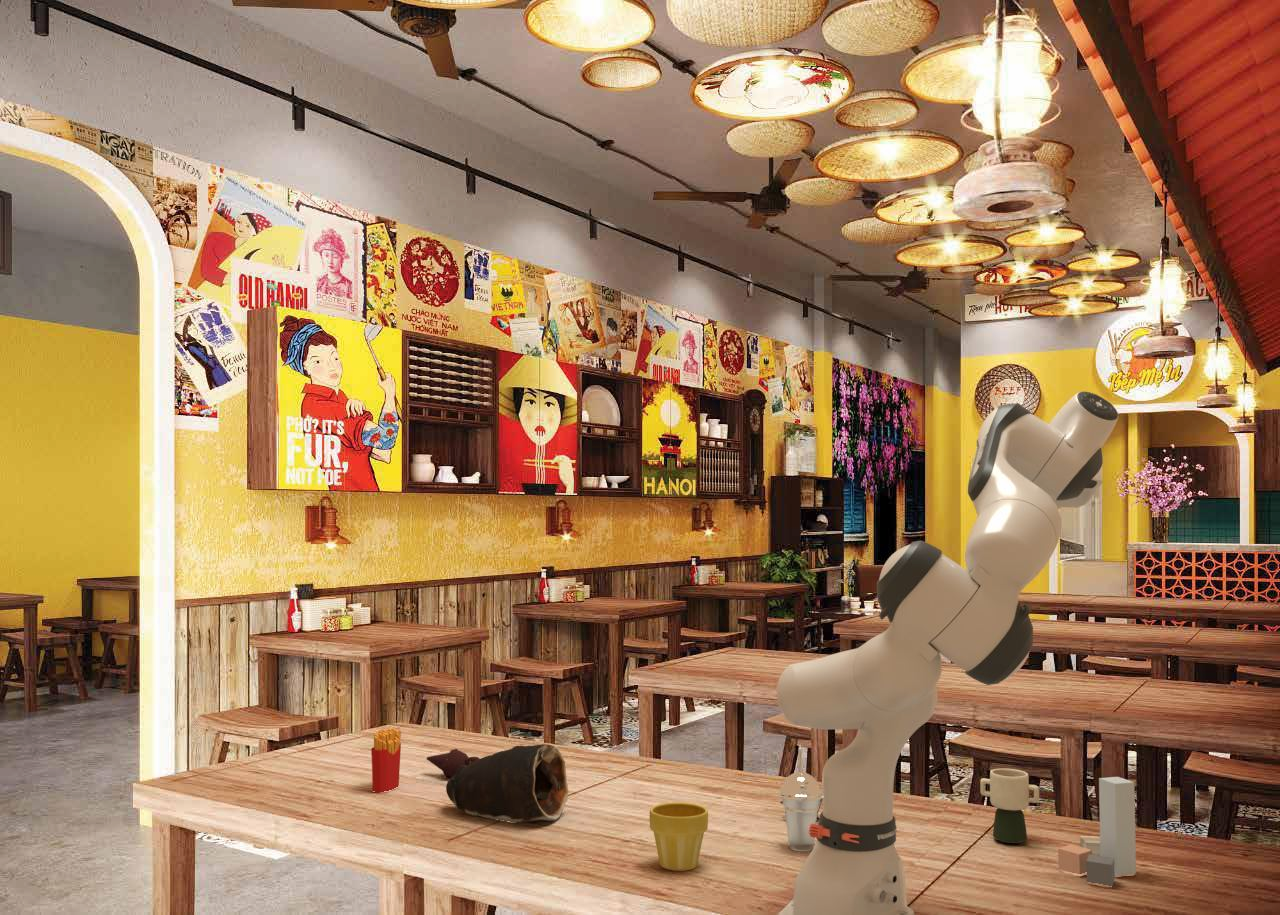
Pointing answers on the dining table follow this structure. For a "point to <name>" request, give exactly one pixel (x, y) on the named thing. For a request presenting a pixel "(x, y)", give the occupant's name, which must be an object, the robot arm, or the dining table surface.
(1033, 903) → the dining table surface
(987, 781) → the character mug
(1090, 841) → the cream cube
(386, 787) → the french fries
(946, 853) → the dining table surface
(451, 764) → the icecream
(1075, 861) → the terracotta cube
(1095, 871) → the charcoal cube
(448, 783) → the dark brown tapered cylinder
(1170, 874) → the dining table surface
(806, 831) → the cup with straw
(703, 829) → the plant pot
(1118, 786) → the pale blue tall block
